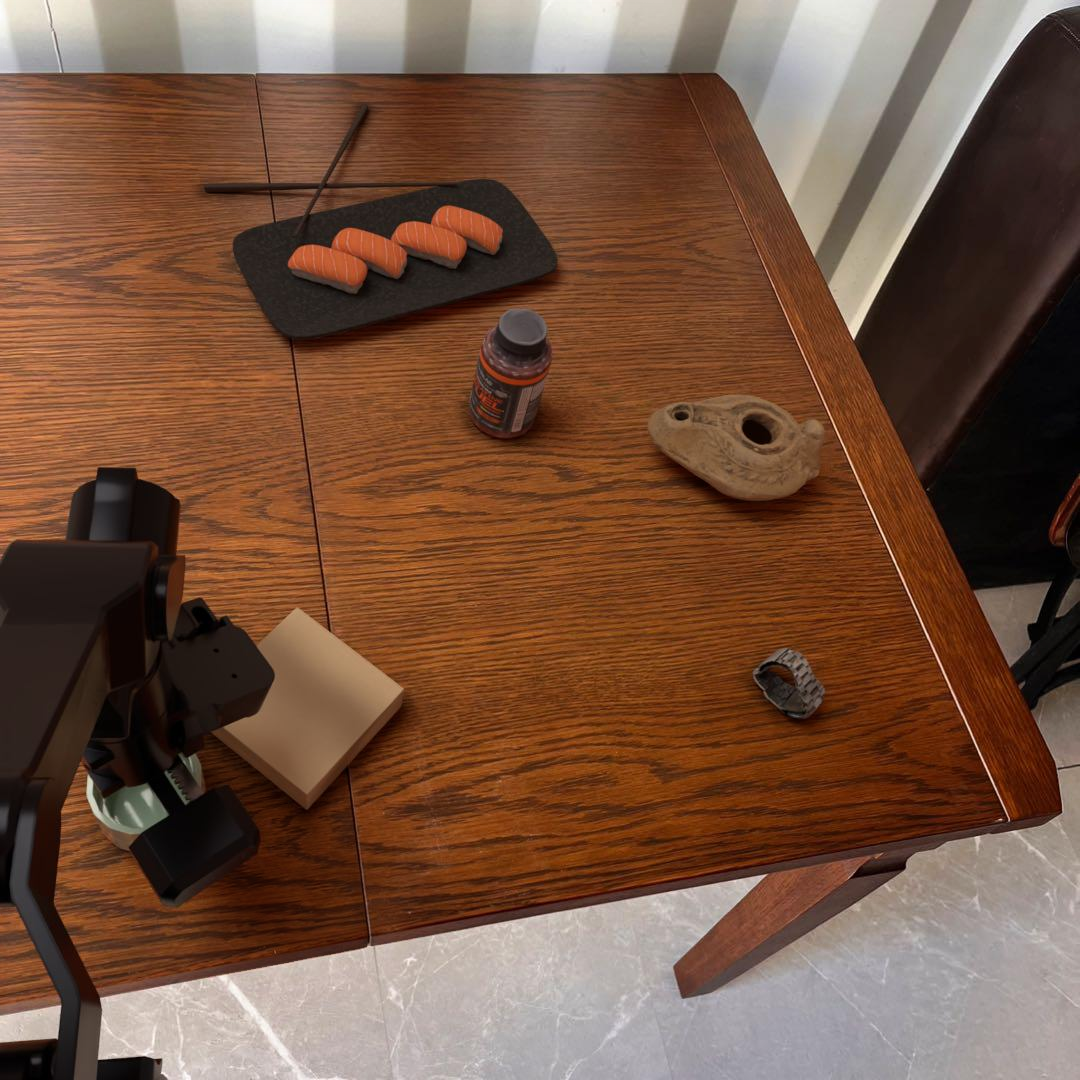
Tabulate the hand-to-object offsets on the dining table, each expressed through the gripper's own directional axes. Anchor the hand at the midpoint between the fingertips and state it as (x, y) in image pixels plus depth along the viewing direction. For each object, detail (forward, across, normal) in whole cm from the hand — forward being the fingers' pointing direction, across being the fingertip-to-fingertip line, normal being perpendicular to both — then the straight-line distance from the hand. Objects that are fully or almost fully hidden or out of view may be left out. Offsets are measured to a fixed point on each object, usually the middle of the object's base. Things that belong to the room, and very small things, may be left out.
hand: (149, 795), depth 70 cm
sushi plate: (+2, +41, -45) cm, 61 cm away
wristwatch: (+2, -20, -42) cm, 47 cm away
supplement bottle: (+2, +14, -41) cm, 43 cm away
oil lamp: (+2, -1, -54) cm, 54 cm away
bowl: (+2, 0, 0) cm, 2 cm away
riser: (+2, 0, -11) cm, 12 cm away
